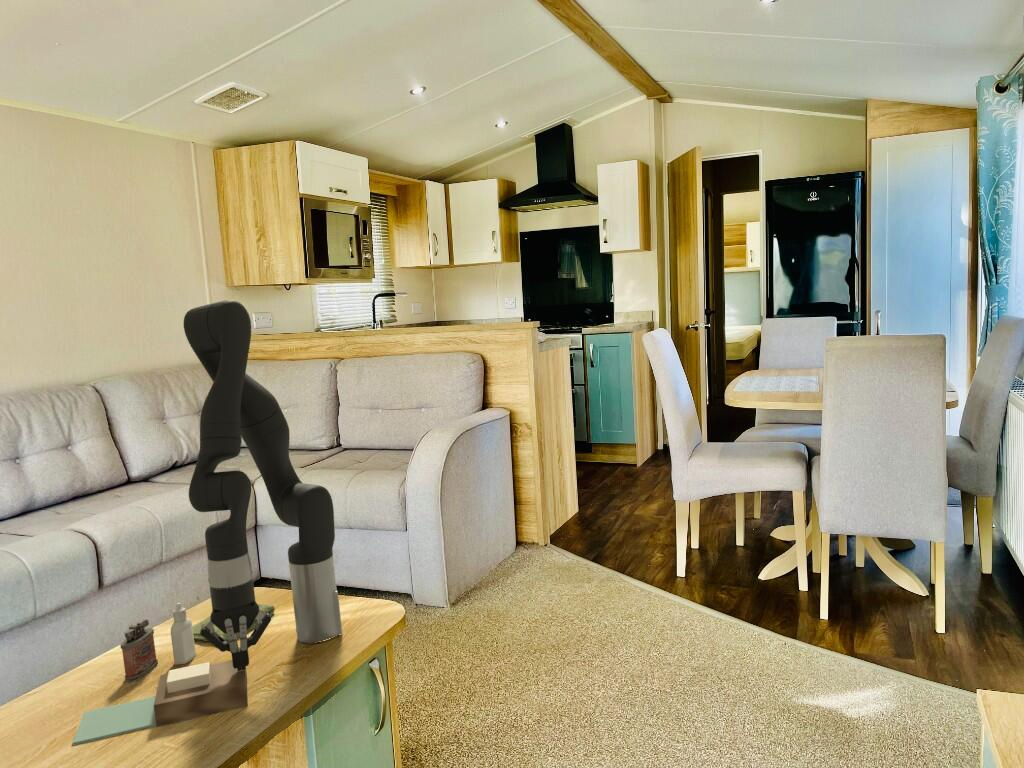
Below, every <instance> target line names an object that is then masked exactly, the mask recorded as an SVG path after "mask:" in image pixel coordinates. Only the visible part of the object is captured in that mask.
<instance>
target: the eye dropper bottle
mask: <svg viewBox="0 0 1024 768" xmlns="http://www.w3.org/2000/svg"><path fill="white" fill-rule="evenodd" d="M186 610H187V609H186V607H182V604H181V603H180V602H177V603H176V607H175V609H173V611H172V614H173V616H172V617H173V623H172V624H171V627H170V637H171V645H172V646H171V648H172V652H173V653H172V654H173V662H174V665H185V664H188V663H189V662H191V661H192V660H193V659H194V658H195V656H196V654H197V652H196V646H195V643H196V642H195V640H194V635H193V627H192V626H193V622H192V620H191V618H189V617H187V611H186Z"/></svg>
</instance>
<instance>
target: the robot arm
mask: <svg viewBox="0 0 1024 768" xmlns="http://www.w3.org/2000/svg"><path fill="white" fill-rule="evenodd" d="M183 330H184V334H185V337H186V340H187V342H188V344H189V346H190V347H191V349H192V351H193V352H194V354H195V356H196V357H197V359H198V360H199V362H200V363H201V365H202V367H203V368H204V370H205V371H206V373H207V375H208V376H209V377H210V379H211V381H212V385H211V387H210V388H209V391H208V393H207V395H206V397H205V400H204V402H203V405H202V408H201V412H200V416H199V417H200V419H199V451H198V456H197V460H196V464H195V467H194V470H193V474H192V477H191V478H190V479H191V480H190V483H189V487H188V501H189V503H190V505H191V507H192V508H193V509H194V510H195V511H196V512H200V513H210V512H221V511H230V512H229V513H230V515H229V517H228V519H225V520H222V521H218V522H215V523H212V524H211V525H209V526H207V527H206V529H205V533H204V538H205V546H206V547H205V548H206V554H207V576H208V578H207V582H208V584H209V585H208V586H209V593H210V601H211V610H212V611H211V613H210V616H211V617H210V620H209V621H208V622H207V623H206V624H203V625H202V626H201V630H200V634H201V635H202V636H203V637H204V638H206V639H207V640H208V641H207V642H209V643H210V644H212V645H213V646H214V647H215V648H216V649H218V650H219V651H220V652H222V653H224V652H230V653H231V660H232V662H233V667H234V669H235V668H237V670H238V671H241V670H246V671H247V667H248V666H249V665H250V657H249V648H250V647H252V646H255V645H256V644H257V643H258V642H259V640H260V639H261V637H262V635H263V634H264V632H265V631H266V629H267V628H268V626H269V624H270V623H271V621H272V616H271V613H270V612H266V613H265V612H263V611H261V610H259V606H258V604H259V603H257V601H256V596H255V595H256V594H255V585H254V577H253V576H254V575H253V573H254V572H253V569H252V568H253V567H252V561H251V558H250V555H249V547H248V540H247V539H248V538H247V520H248V519H247V518H248V512H249V511H248V510H249V506H250V500H251V494H252V483H251V480H250V478H249V476H248V475H247V474H246V473H245V472H243V471H242V470H227V471H217V472H216V471H215V470H216V468H217V467H218V466H219V464H221V463H222V462H225V461H229V460H232V459H234V458H237V457H238V456H239V455H240V453H241V448H242V447H241V445H242V443H241V438H242V440H243V442H244V444H245V445H246V447H247V449H248V452H249V453H250V455H251V458H252V459H253V460H252V461H254V463H255V465H256V467H257V469H258V471H259V473H260V476H261V478H262V480H263V482H264V485H265V487H266V490H267V493H268V496H269V499H270V501H271V505H272V507H273V509H274V512H275V514H276V516H277V517H278V520H280V521H281V522H282V523H284V524H285V525H288V526H291V527H297V528H298V541H297V542H294V543H292V544H291V545H290V546H289V547H288V550H287V557H288V567H289V568H288V569H289V575H290V577H289V578H290V586H291V594H292V603H293V612H294V623H295V632H296V638H297V639H296V640H297V641H299V642H300V643H302V642H305V643H304V644H313V643H312V642H319V641H323V640H326V639H329V638H332V637H334V636H336V635H339V634H342V635H343V626H342V620H341V619H342V618H341V610H340V609H341V608H340V600H339V593H338V592H339V591H338V589H337V582H336V580H337V579H336V573H335V572H336V571H335V563H334V554H333V553H334V551H333V547H334V544H335V538H336V533H335V531H336V530H335V528H336V527H335V510H334V503H333V502H334V501H333V499H332V496H331V493H330V492H329V490H328V489H327V488H326V487H324V486H322V485H320V484H319V485H318V484H311V483H303V482H302V480H301V479H300V478H299V476H298V475H297V473H296V471H295V468H294V466H293V465H292V462H291V458H290V438H291V437H290V428H289V424H288V421H287V418H286V417H285V414H284V413H283V410H282V409H281V406H280V404H279V402H278V400H277V399H276V397H275V396H274V395H273V394H272V392H270V390H268V389H267V388H266V387H264V385H262V384H261V383H260V382H258V380H255V379H254V378H253V377H251V376H250V375H249V374H248V373H247V365H248V358H249V352H250V346H251V339H252V321H251V317H250V314H249V312H248V310H247V308H246V307H245V306H244V305H243V304H242V303H241V302H239V301H237V300H234V299H226V300H221V301H217V302H212V303H209V304H208V303H207V304H204V305H200V306H197V307H193V308H191V309H189V310H188V311H187V312H186V313H185V315H184V317H183ZM257 616H258V619H257V621H258V625H257V626H256V627H255V628H253V631H252V632H251V635H250V636H249V637H248V635H247V634H248V632H247V630H248V629H249V628H250V627H251V625H252V624H253V622H254V620H255V618H256V617H257ZM214 625H215V626H216V627H218V628H219V629H220V630H221V631H222V632H223V633H225V634H227V636H228V641H229V642H228V641H226V640H224V639H223V638H222V637H221V636H220V635H218V634H217V633H216V632H215V627H214ZM237 632H240V638H239V645H238V639H236V633H237ZM339 636H340V635H339ZM336 637H337V636H336ZM334 638H335V637H334ZM239 646H240V647H239Z"/></svg>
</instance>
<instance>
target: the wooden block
mask: <svg viewBox="0 0 1024 768" xmlns="http://www.w3.org/2000/svg"><path fill="white" fill-rule="evenodd" d="M210 668H211V679H210V684H208V685H203V686H199V687H194V688H189V689H185V690H180V691H176V692H171V693H168V689H167V678H168V673H165V674H160V676H159V680H158V684H157V689H156V693H155V696H156V697H155V701H154V711H155V719H156V726H155V727H156V728H158V727H162V726H163V727H164V726H167V725H171V724H176V723H179V722H184V721H188V720H192V719H197V718H201V717H206V716H211V715H213V714H214V715H215V714H219V713H224V712H228V711H232V710H235V709H241V708H244V707H248V706H249V705H248V704H249V703H248V702H249V701H248V699H249V697H248V696H249V695H248V672H247V669H246V670H241V671H238V670H237V668H235V669H234V667H233V662H232V659H230V660H225V661H221V662H216V663H212V664H211V663H210Z"/></svg>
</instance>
